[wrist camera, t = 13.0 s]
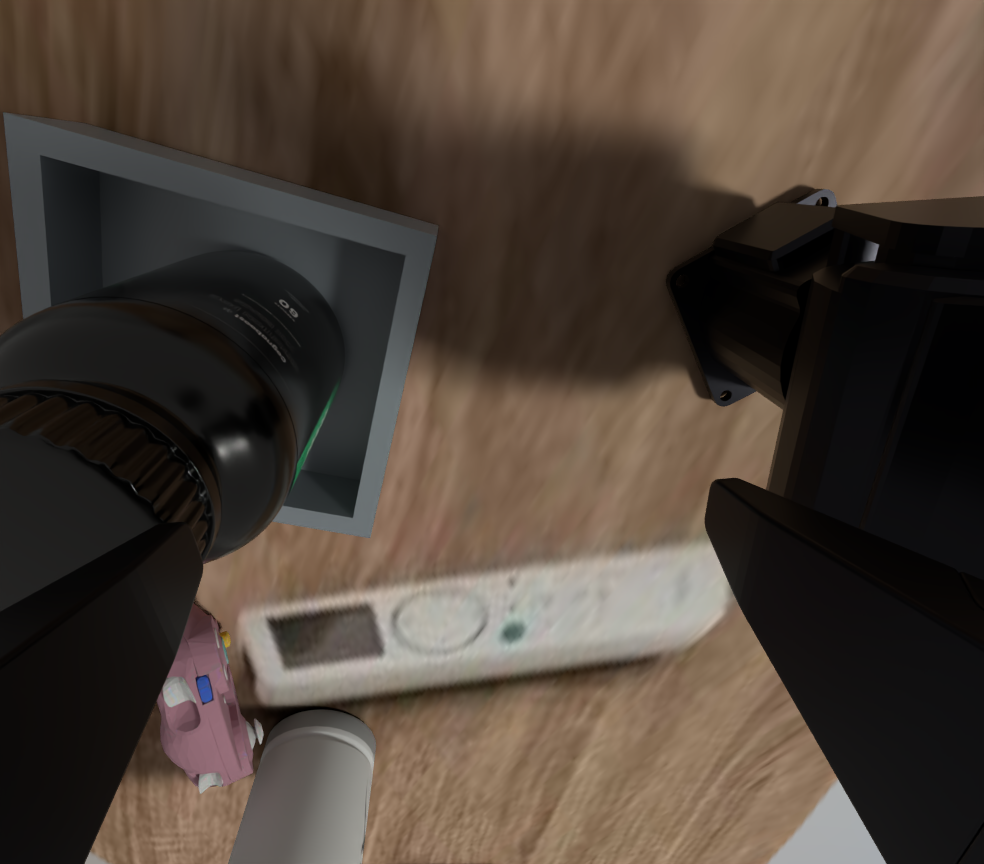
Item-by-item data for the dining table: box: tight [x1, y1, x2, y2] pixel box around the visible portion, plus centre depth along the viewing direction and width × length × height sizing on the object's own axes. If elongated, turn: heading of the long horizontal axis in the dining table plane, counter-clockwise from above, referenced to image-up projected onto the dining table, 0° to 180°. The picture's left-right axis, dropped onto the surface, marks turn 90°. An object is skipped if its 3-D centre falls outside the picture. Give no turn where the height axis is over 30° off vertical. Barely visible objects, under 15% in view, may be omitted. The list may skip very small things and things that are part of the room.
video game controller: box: [157, 603, 264, 794], centre depth 25 cm, size 10×5×7 cm, turn 179°
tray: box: [3, 112, 439, 538], centre depth 19 cm, size 12×12×4 cm
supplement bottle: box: [0, 250, 345, 611], centre depth 14 cm, size 7×7×12 cm
